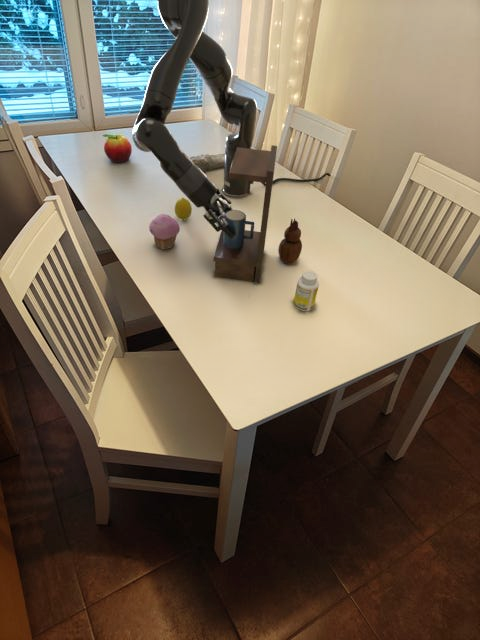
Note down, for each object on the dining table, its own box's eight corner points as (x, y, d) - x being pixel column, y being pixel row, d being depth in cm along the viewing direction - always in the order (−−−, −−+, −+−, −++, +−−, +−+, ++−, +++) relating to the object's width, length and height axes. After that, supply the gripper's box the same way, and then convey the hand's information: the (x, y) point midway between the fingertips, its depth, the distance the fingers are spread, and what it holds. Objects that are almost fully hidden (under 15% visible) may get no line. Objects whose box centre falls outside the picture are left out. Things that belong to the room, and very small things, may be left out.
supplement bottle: (309, 297, 122) (316, 267, 115) (316, 310, 118) (324, 280, 111) (290, 299, 120) (296, 269, 113) (297, 313, 116) (303, 282, 109)
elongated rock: (257, 167, 185) (245, 159, 192) (258, 154, 182) (246, 147, 189) (180, 175, 170) (170, 166, 177) (180, 161, 167) (170, 153, 173)
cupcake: (168, 235, 140) (167, 207, 133) (185, 247, 135) (185, 218, 129) (145, 245, 135) (142, 216, 128) (162, 257, 130) (160, 228, 124)
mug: (221, 247, 124) (222, 219, 118) (224, 236, 129) (225, 208, 122) (251, 251, 124) (254, 223, 118) (253, 240, 128) (256, 212, 122)
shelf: (212, 277, 125) (216, 164, 103) (220, 246, 137) (226, 140, 115) (259, 283, 125) (273, 171, 102) (263, 252, 137) (277, 145, 114)
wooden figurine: (283, 268, 131) (291, 223, 121) (273, 257, 135) (280, 214, 124) (302, 263, 133) (311, 219, 123) (292, 253, 137) (300, 209, 127)
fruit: (129, 166, 175) (127, 140, 168) (102, 164, 175) (98, 138, 168) (135, 155, 183) (132, 130, 176) (109, 153, 182) (105, 128, 176)
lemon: (188, 225, 145) (188, 203, 140) (172, 222, 146) (172, 200, 140) (193, 217, 149) (193, 195, 144) (178, 214, 150) (177, 192, 144)
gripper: (200, 188, 108) (243, 234, 116) (210, 165, 119) (248, 208, 126) (179, 205, 112) (222, 249, 119) (190, 181, 123) (229, 222, 130)
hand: (235, 228), depth 123 cm, fingers open, 8 cm apart
